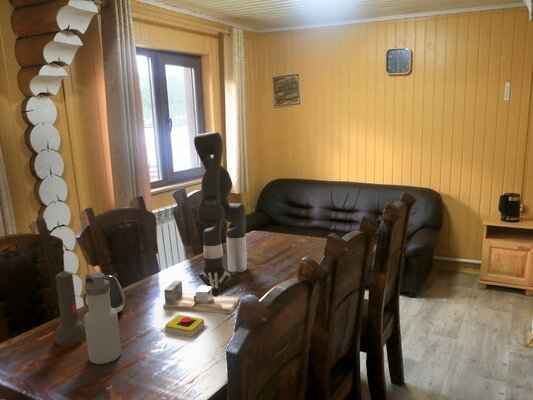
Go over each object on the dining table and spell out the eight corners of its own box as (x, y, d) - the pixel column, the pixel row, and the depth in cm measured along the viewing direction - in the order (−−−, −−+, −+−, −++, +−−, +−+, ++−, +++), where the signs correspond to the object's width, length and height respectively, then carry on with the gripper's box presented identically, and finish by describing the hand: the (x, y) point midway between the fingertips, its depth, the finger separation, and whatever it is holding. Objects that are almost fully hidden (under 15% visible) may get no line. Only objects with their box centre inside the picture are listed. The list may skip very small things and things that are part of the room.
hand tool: (218, 295, 185) (218, 285, 184) (211, 293, 187) (211, 283, 186) (244, 280, 201) (244, 271, 200) (237, 279, 203) (237, 269, 202)
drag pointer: (199, 296, 179) (199, 290, 178) (201, 297, 179) (201, 290, 178) (190, 306, 170) (190, 299, 169) (193, 306, 170) (192, 299, 169)
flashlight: (49, 345, 148) (74, 348, 145) (40, 275, 143) (65, 277, 140) (70, 331, 157) (93, 334, 154) (61, 265, 152) (85, 267, 150)
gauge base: (176, 296, 185) (174, 279, 183) (239, 300, 179) (238, 283, 177) (163, 308, 173) (162, 290, 172) (230, 313, 167) (229, 295, 166)
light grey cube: (201, 297, 179) (201, 285, 178) (213, 297, 178) (212, 286, 177) (196, 303, 173) (195, 291, 172) (208, 304, 172) (207, 292, 171)
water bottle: (83, 356, 140) (73, 274, 134) (112, 345, 146) (103, 266, 141) (96, 369, 133) (86, 282, 127) (126, 356, 139) (118, 273, 134)
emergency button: (194, 328, 148) (158, 321, 154) (195, 339, 149) (159, 332, 155) (208, 316, 157) (173, 310, 162) (209, 327, 158) (174, 321, 163)
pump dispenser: (131, 307, 175) (127, 271, 172) (115, 319, 165) (111, 281, 162) (109, 305, 178) (105, 270, 175) (92, 316, 168) (88, 279, 165)
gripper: (232, 252, 173) (234, 293, 176) (200, 251, 176) (203, 291, 179) (226, 258, 166) (229, 300, 169) (193, 257, 168) (197, 299, 172)
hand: (216, 296), depth 174 cm, fingers closed
